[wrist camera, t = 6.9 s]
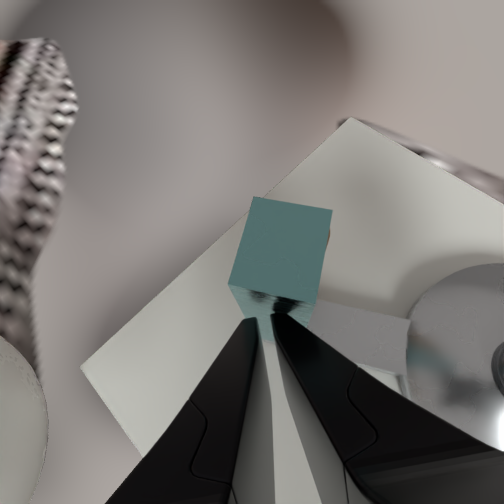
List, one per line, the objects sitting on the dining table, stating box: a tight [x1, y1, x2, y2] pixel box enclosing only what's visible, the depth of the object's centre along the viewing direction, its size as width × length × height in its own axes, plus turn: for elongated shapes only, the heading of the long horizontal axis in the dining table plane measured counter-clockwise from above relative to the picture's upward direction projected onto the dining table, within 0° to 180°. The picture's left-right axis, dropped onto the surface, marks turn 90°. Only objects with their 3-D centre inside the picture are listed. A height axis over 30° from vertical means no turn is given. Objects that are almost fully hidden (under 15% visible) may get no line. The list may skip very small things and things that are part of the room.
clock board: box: [80, 117, 504, 504], centre depth 12 cm, size 22×22×7 cm
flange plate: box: [228, 197, 504, 451], centre depth 10 cm, size 16×10×9 cm, turn 75°
